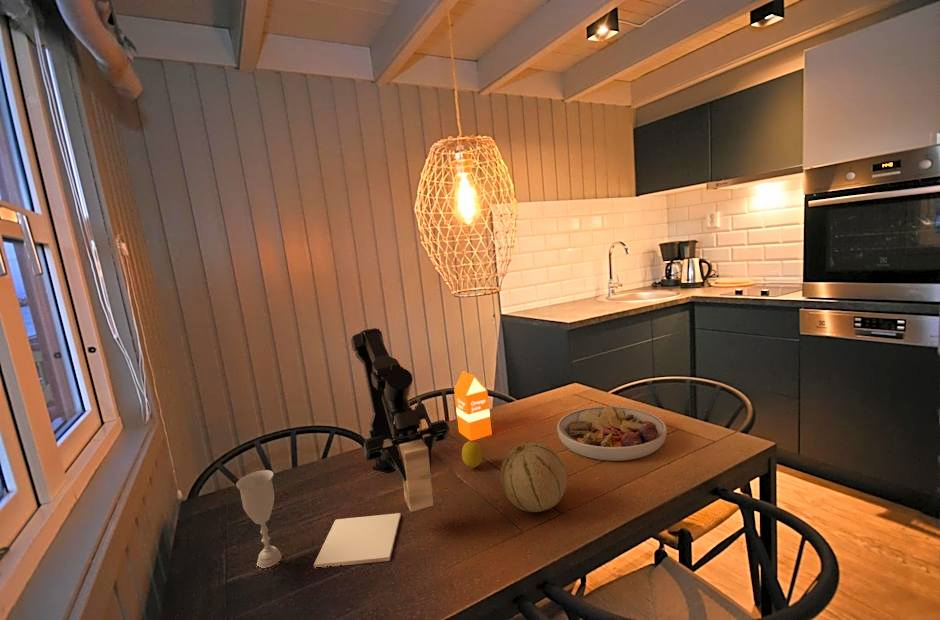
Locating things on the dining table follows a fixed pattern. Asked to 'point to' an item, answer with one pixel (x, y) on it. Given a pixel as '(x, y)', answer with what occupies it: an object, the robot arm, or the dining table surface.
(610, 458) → the bowl
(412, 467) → the wood block
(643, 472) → the dining table surface
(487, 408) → the orange juice
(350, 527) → the tile
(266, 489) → the chalice
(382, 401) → the robot arm
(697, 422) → the dining table surface
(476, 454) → the lemon
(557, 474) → the cantaloupe
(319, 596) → the dining table surface
